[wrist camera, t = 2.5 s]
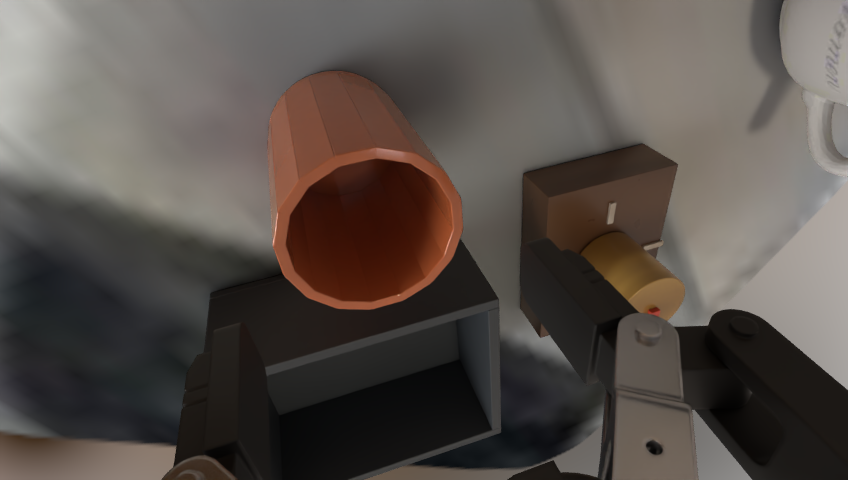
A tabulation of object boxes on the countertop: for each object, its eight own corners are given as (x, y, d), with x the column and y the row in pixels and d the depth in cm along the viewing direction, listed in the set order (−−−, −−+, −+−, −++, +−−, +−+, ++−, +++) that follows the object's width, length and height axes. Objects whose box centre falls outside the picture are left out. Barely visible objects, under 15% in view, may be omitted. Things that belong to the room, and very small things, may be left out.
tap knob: (577, 241, 27) (629, 294, 24) (637, 224, 28) (697, 273, 24) (571, 292, 30) (618, 347, 26) (627, 275, 30) (680, 326, 27)
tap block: (521, 173, 27) (548, 199, 25) (645, 143, 29) (682, 164, 26) (518, 308, 34) (539, 340, 31) (619, 278, 35) (647, 306, 33)
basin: (209, 292, 26) (199, 386, 21) (454, 228, 28) (499, 298, 23) (272, 416, 33) (276, 510, 28) (465, 357, 35) (501, 432, 30)
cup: (249, 85, 21) (246, 175, 13) (390, 58, 22) (457, 128, 15) (289, 208, 24) (303, 329, 17) (408, 180, 25) (467, 283, 18)
